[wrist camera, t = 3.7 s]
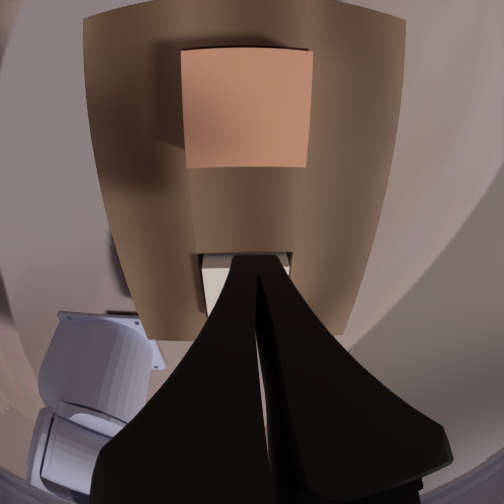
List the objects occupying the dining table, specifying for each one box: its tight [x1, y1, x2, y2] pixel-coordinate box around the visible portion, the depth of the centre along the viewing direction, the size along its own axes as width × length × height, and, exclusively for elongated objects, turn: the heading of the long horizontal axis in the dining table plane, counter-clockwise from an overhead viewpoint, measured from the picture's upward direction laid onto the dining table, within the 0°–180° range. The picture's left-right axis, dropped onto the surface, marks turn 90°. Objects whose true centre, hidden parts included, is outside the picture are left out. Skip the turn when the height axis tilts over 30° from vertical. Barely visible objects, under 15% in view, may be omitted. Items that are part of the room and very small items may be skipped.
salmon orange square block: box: [181, 48, 313, 169], centre depth 10 cm, size 4×4×3 cm
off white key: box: [202, 252, 290, 317], centre depth 17 cm, size 4×4×3 cm
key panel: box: [83, 0, 406, 341], centre depth 15 cm, size 14×20×3 cm
